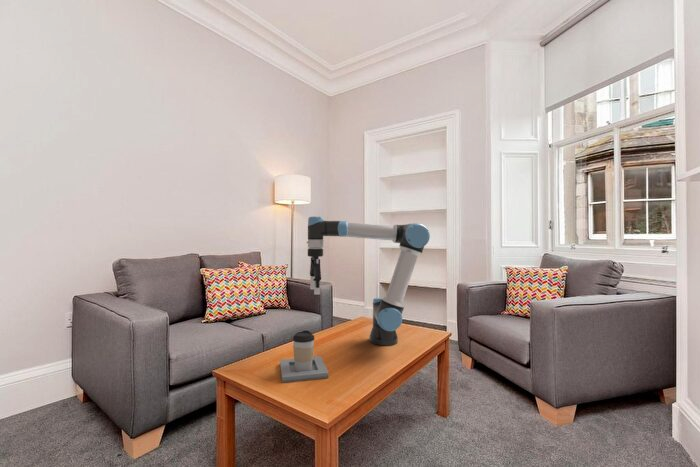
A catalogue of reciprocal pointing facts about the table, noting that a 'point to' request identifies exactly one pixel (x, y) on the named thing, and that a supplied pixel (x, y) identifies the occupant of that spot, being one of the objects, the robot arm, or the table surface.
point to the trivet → (292, 375)
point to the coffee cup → (303, 350)
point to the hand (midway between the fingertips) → (315, 291)
